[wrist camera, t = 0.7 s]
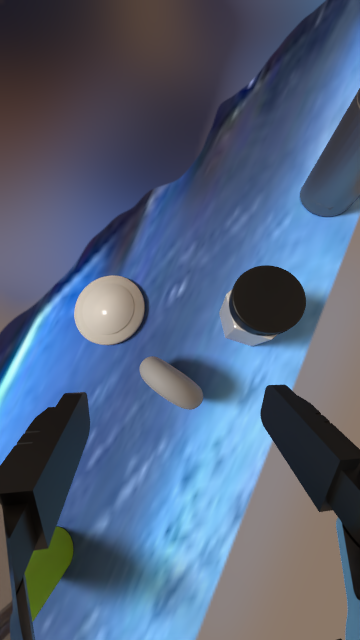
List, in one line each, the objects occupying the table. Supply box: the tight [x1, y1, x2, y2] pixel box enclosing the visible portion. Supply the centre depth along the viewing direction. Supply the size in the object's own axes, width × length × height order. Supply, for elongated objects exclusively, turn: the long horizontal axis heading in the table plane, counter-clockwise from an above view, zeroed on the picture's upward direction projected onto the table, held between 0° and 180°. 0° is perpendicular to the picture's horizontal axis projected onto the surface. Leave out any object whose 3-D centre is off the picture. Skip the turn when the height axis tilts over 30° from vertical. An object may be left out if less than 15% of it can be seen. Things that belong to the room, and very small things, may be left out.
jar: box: [219, 266, 306, 346], centre depth 28 cm, size 9×8×12 cm
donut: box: [140, 356, 203, 410], centre depth 28 cm, size 10×3×10 cm, turn 56°
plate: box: [74, 276, 145, 345], centre depth 36 cm, size 13×13×1 cm
